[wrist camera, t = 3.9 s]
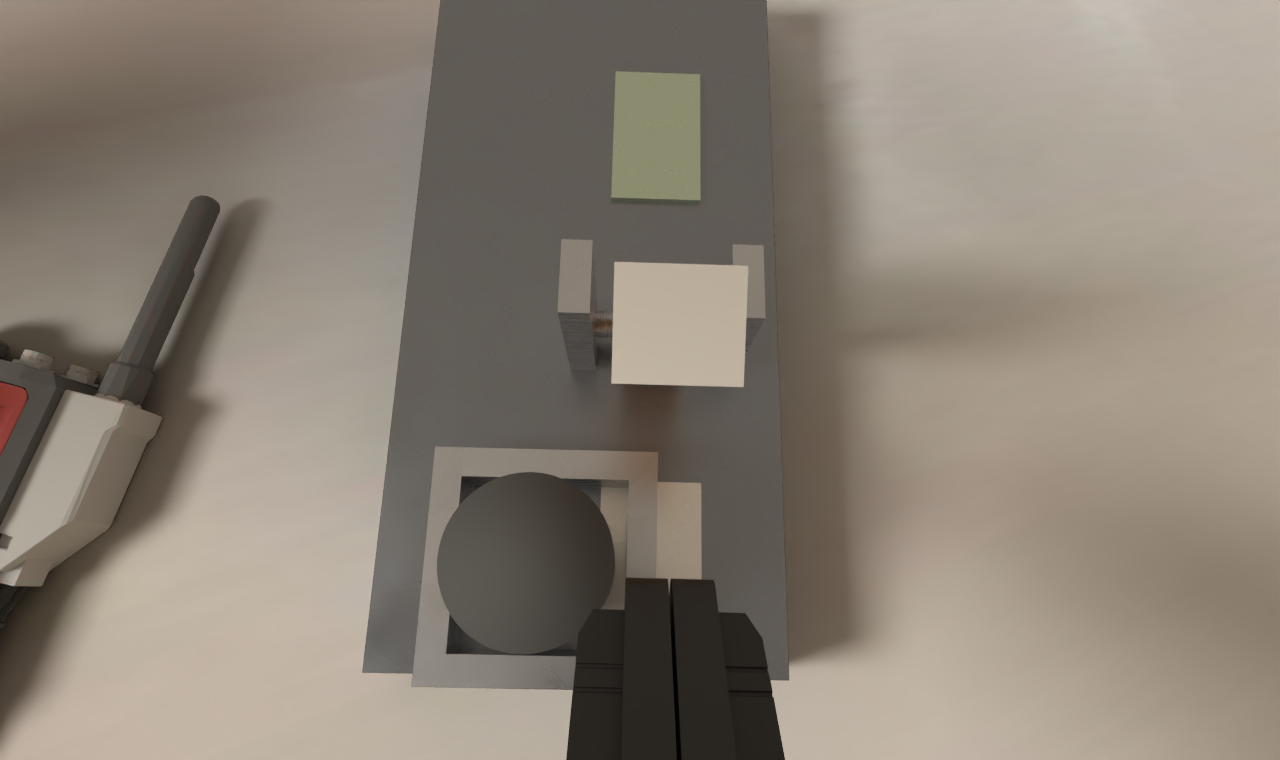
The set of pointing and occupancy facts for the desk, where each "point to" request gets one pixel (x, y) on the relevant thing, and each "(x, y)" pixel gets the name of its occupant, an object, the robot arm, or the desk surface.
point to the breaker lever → (679, 324)
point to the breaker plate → (582, 311)
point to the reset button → (525, 562)
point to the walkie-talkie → (82, 429)
